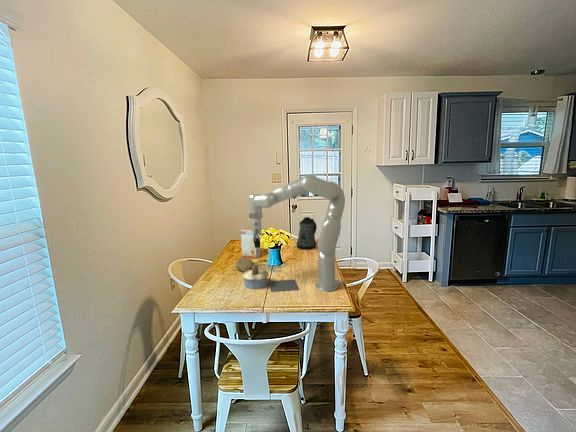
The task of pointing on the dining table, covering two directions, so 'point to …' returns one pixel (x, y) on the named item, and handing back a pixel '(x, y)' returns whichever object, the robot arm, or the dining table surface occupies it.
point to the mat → (283, 285)
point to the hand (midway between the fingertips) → (256, 245)
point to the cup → (255, 283)
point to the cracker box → (249, 244)
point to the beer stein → (307, 234)
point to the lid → (255, 274)
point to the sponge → (244, 264)
